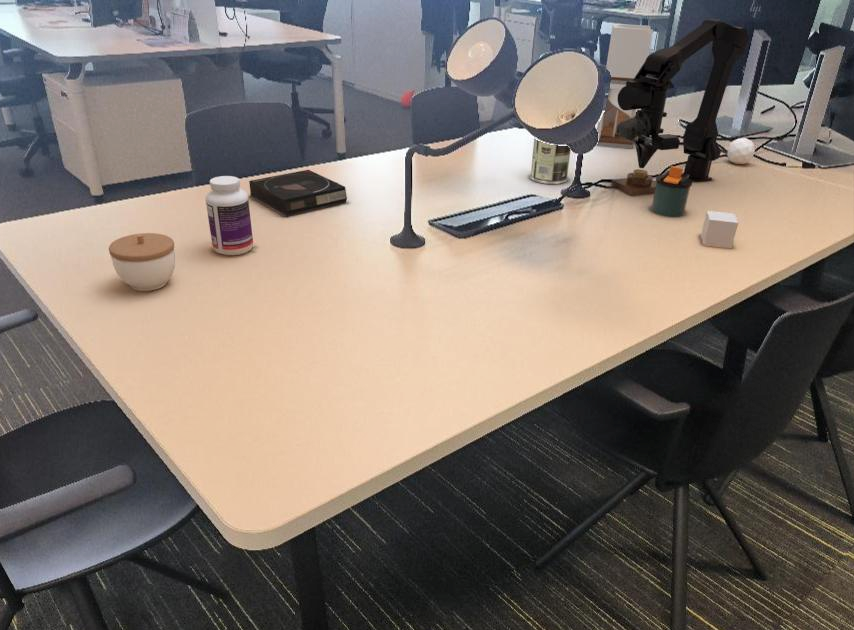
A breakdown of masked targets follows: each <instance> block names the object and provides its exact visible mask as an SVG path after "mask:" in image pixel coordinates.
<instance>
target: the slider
mask: <svg viewBox="0 0 854 630" xmlns="http://www.w3.org/2000/svg"><path fill="white" fill-rule="evenodd" d="M669 171H670V172H669V176H667V177H666V178H665V179H664V180H663V182H668V183H673V184H678V183H679V182H680V181H681V180H682V178H681V175H682V173H683V171H684V168H683V167H679V166H675V165H670V167H669Z"/></svg>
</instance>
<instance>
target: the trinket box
mask: <svg viewBox="0 0 854 630" xmlns="http://www.w3.org/2000/svg"><path fill="white" fill-rule="evenodd" d="M108 252H109V255H110V258H111V262H112V265H113V268H114V270H115V273H116V274H117V276H118V277H119V279H120V280H121V281H123V283H125V284H126V285H128V286H130V287H131V288H132V290H136V291H139V292H149V291H155V290H158V289H161V288H163V287H165V286H166V285H167V283H168V281H169V280H170V279H171V278H172V276H173V274H174V272H175V269H176V251H175V241H174V240H173V238H171V237H170V236H168V235H167V234H161V233H154V232H146V233H145V232H143V233H133V234H129V235H125V236H121V237H120V238H117V239H115V240H113V241H112V242H111V243H110V244H109V245H108Z"/></svg>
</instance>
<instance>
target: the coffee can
mask: <svg viewBox="0 0 854 630" xmlns="http://www.w3.org/2000/svg"><path fill="white" fill-rule="evenodd" d="M570 157H571V150H570V148H569V147H568V146H558V145H550V144H547V143H543V142H541V141H538V140H536V139H535V138H534V137H533V149H532V157H531V158H532V159H531V167H530V176H529V178H530V179H531V180H532V181H533V182H536V183H541V184H545V185H546V184H547V185H560V184H564V183H566V182H567V181H568V173H569V165H570Z"/></svg>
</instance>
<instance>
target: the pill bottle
mask: <svg viewBox="0 0 854 630" xmlns="http://www.w3.org/2000/svg"><path fill="white" fill-rule="evenodd" d="M240 182H241V181H240V179H239V178H238V177H237V176H234V175H233V176H232V175H221V176H215V177H213V178H211V179H210V180H209V185H210V186H209V187H210V189H211V190H210V191H208V192H207V194H206V195H205V204H206V211H207V218H208V225H209V233H210V240H211V247H212V249H213V251H214V252H216V253H218V254H219V255H224V256H239V255H242V254H245V253H248V252H249V251H250V250H252V248H253V246H254V238H253V229H252V228H253V227H252V219H251V212H250V211H251V210H250V202H249V196H248V193H247V192H246V191H245V190H244V189H243V188H241V183H240Z"/></svg>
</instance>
